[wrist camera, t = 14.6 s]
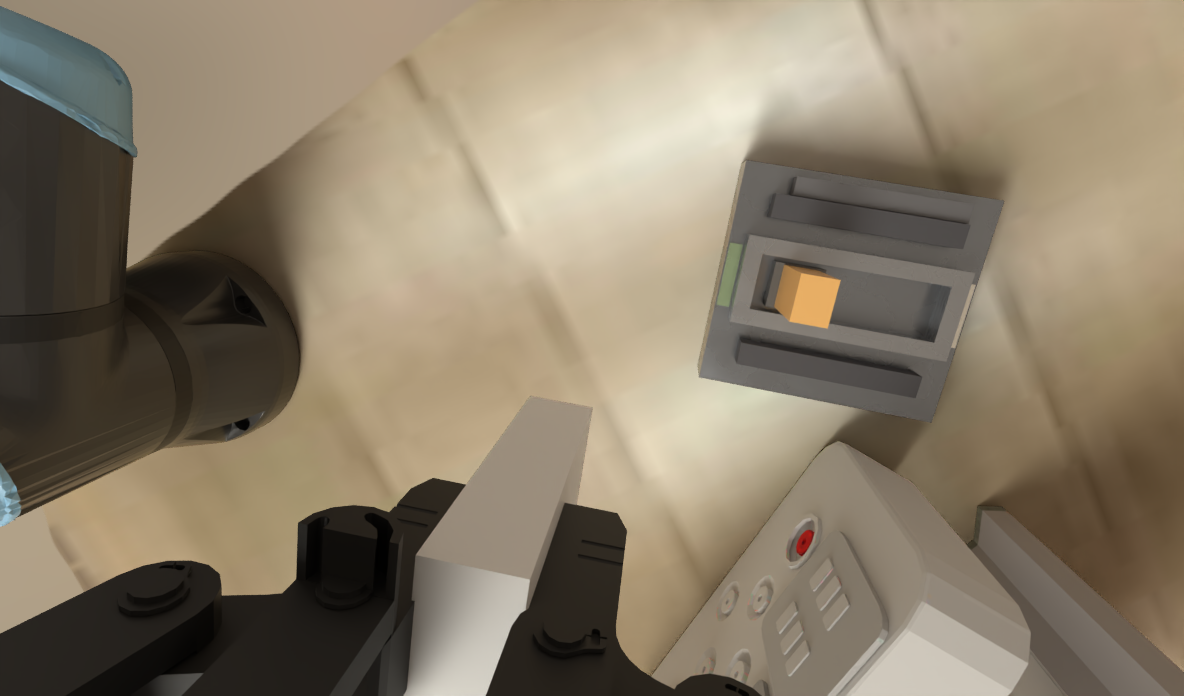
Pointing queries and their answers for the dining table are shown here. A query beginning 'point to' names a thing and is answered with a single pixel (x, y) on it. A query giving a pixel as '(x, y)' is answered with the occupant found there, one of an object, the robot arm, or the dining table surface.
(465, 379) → the dining table surface
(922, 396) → the frame
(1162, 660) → the cabinet
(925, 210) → the grey slider track plate
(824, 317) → the breaker lever
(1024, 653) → the rounded white slab
